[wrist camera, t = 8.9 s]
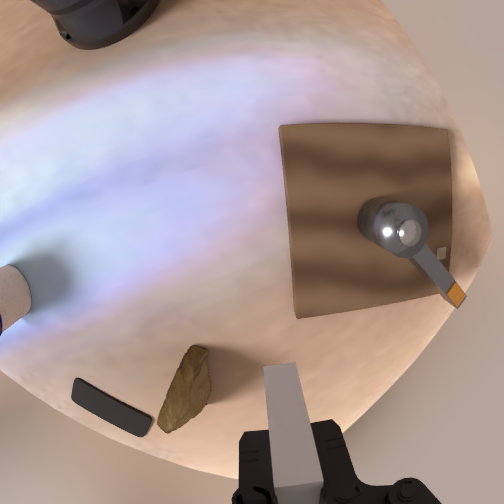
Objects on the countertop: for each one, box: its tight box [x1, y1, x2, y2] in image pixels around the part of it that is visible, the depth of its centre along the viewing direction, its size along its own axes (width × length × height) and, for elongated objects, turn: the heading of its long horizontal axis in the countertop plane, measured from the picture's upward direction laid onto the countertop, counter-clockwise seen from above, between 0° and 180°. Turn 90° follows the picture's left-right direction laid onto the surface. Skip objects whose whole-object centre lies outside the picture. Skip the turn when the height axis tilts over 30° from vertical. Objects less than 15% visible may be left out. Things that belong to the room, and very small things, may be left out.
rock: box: [157, 346, 211, 433], centre depth 35 cm, size 11×9×10 cm
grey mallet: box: [357, 198, 466, 309], centre depth 28 cm, size 17×5×8 cm, turn 52°
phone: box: [71, 378, 152, 437], centre depth 40 cm, size 7×1×15 cm
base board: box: [278, 123, 452, 319], centre depth 32 cm, size 22×22×2 cm
